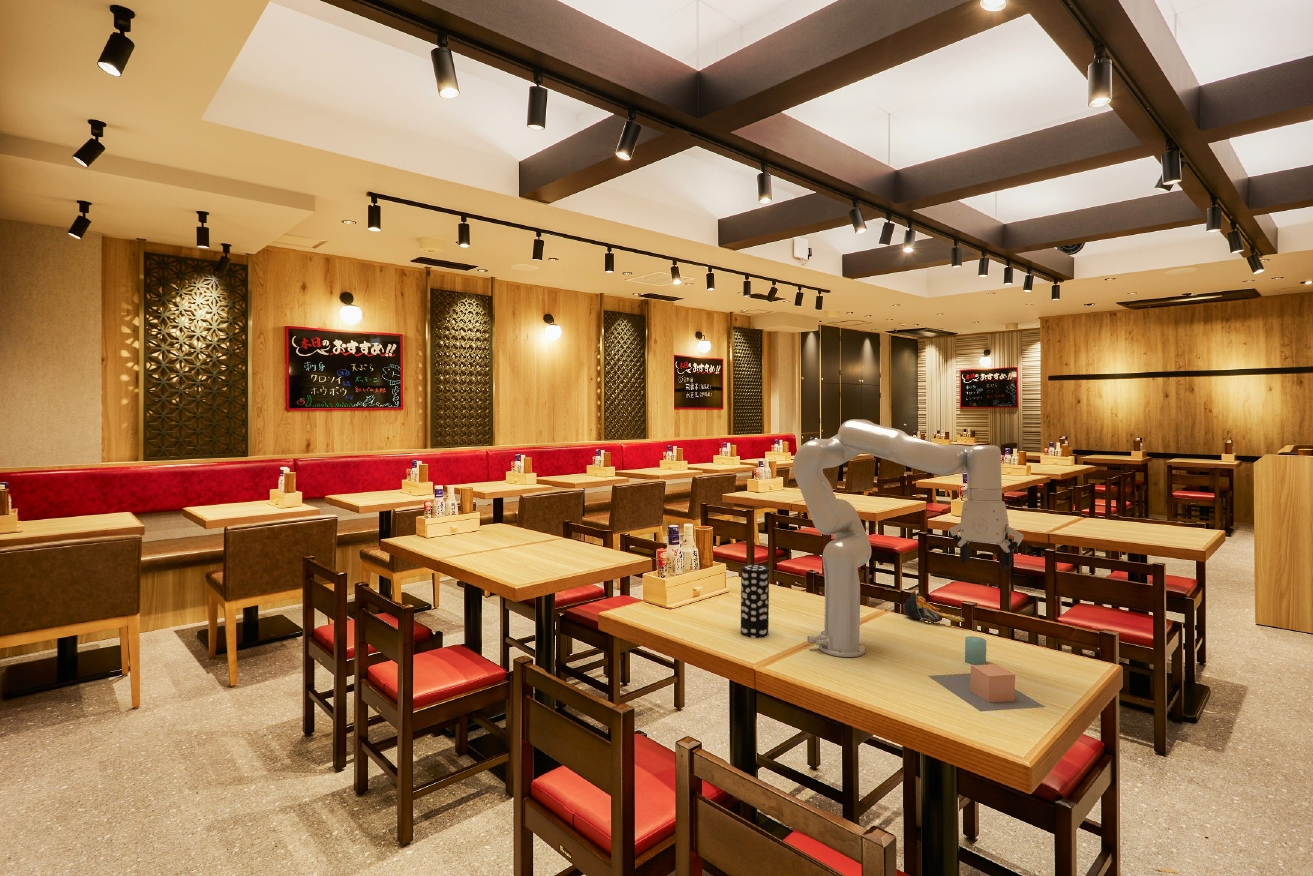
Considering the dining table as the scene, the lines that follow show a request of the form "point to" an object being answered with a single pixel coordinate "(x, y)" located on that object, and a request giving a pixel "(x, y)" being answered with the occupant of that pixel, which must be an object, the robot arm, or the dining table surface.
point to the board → (961, 688)
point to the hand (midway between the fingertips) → (985, 565)
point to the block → (992, 683)
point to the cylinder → (975, 650)
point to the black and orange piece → (925, 610)
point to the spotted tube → (754, 601)
